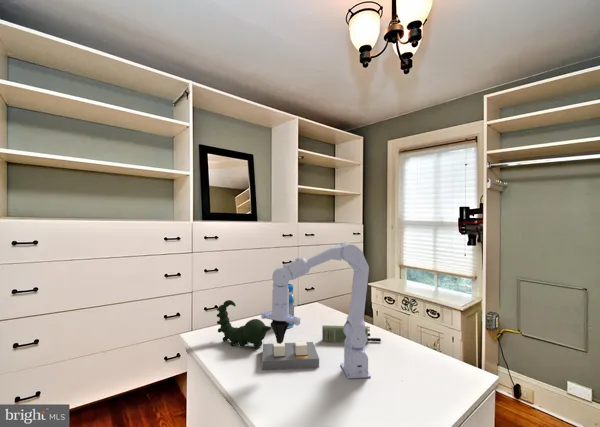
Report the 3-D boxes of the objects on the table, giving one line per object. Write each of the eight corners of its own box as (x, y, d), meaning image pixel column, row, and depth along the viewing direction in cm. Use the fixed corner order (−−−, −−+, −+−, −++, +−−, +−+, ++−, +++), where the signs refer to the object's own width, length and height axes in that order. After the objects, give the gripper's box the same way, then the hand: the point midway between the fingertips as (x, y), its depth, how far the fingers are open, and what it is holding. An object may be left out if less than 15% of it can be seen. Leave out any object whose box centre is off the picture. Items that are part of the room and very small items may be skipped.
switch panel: (319, 367, 100) (319, 358, 100) (262, 370, 98) (262, 361, 98) (312, 349, 114) (312, 341, 114) (262, 351, 112) (262, 343, 112)
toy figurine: (213, 349, 118) (267, 354, 109) (211, 302, 119) (264, 304, 110) (227, 340, 126) (277, 344, 118) (224, 297, 127) (274, 298, 119)
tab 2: (307, 355, 102) (307, 345, 102) (296, 355, 102) (296, 345, 102) (305, 351, 105) (306, 341, 105) (295, 351, 105) (295, 342, 105)
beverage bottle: (284, 330, 134) (285, 287, 135) (274, 325, 140) (274, 284, 141) (297, 325, 140) (298, 285, 140) (287, 321, 146) (287, 282, 146)
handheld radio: (322, 339, 125) (379, 341, 123) (322, 343, 121) (381, 344, 120) (322, 324, 124) (379, 325, 123) (322, 327, 121) (381, 329, 120)
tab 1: (284, 355, 101) (285, 346, 102) (273, 356, 101) (273, 346, 101) (284, 352, 104) (284, 342, 105) (273, 352, 104) (273, 343, 104)
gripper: (304, 302, 98) (304, 342, 98) (269, 297, 105) (268, 334, 104) (295, 308, 92) (294, 350, 91) (258, 301, 98) (257, 341, 98)
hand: (280, 342), depth 97 cm, fingers closed
